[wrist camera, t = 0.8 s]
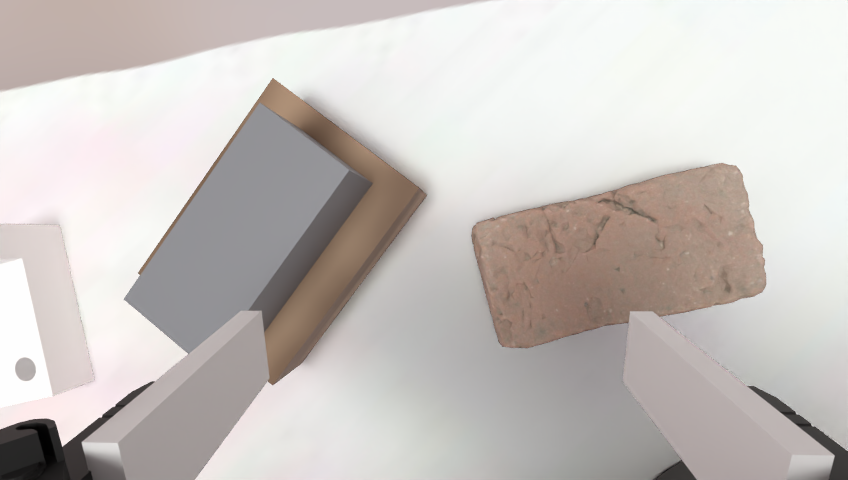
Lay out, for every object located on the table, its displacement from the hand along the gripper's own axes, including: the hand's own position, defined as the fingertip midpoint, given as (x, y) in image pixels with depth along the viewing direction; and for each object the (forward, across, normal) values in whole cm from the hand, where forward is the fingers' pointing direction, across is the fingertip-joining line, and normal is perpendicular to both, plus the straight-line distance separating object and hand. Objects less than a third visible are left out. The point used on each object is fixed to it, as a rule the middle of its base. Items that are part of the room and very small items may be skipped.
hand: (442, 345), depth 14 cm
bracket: (+17, +33, +6) cm, 38 cm away
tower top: (+12, +11, -1) cm, 16 cm away
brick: (+15, -11, +1) cm, 19 cm away
